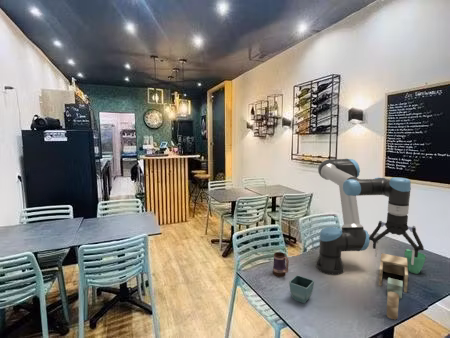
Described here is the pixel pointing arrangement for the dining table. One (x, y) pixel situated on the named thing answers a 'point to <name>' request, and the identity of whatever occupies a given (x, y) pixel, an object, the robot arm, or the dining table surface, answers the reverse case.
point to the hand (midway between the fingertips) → (393, 259)
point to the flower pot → (301, 288)
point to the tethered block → (393, 297)
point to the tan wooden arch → (394, 267)
